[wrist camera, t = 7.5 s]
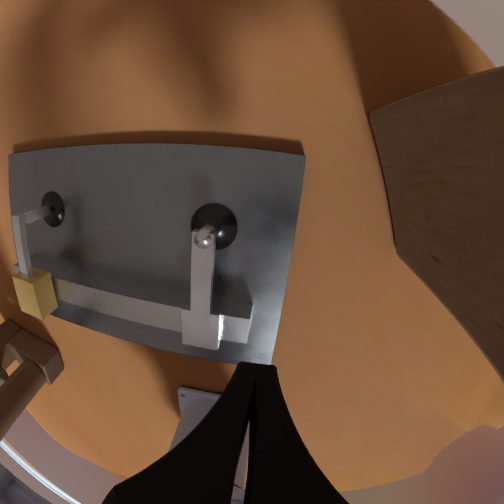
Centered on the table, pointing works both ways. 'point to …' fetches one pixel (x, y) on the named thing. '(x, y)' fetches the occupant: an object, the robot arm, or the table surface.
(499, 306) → the wooden block
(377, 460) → the table surface
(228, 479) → the robot arm
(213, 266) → the hole plate
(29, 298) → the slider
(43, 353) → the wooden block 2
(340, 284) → the table surface
